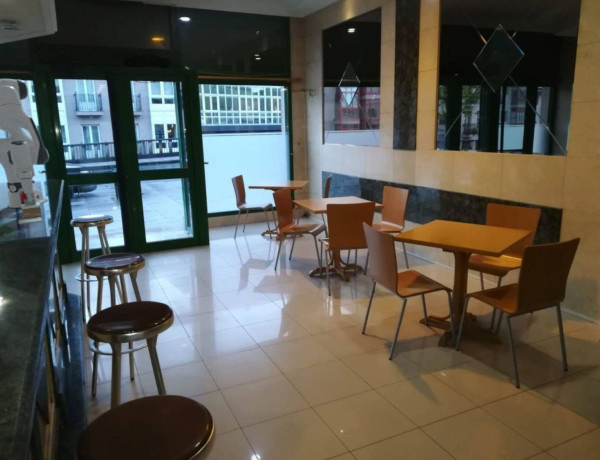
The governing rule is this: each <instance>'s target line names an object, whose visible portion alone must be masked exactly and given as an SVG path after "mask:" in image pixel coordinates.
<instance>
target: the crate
mask: <svg viewBox="0 0 600 460" xmlns="http://www.w3.org/2000/svg"><path fill="white" fill-rule="evenodd" d="M41 210H42V209H41V206H40V207H36V208H28V209H22V208H21V211H22V215H23V219H30V218H37V217H41V218H42V216H43V215H42V211H41Z"/></svg>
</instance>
